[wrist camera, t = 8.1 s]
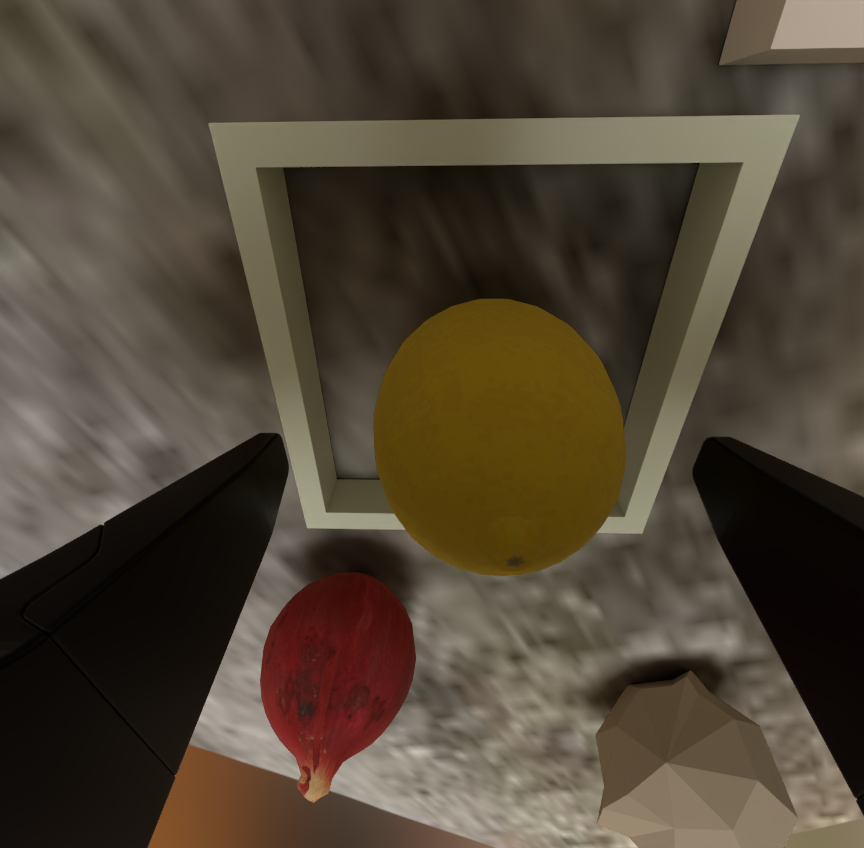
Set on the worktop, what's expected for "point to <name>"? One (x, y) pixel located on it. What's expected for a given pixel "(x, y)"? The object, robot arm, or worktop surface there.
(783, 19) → the bin
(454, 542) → the lemon
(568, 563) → the worktop surface
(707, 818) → the faceted club
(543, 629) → the worktop surface
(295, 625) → the onion
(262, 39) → the worktop surface
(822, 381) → the worktop surface
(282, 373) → the bin
